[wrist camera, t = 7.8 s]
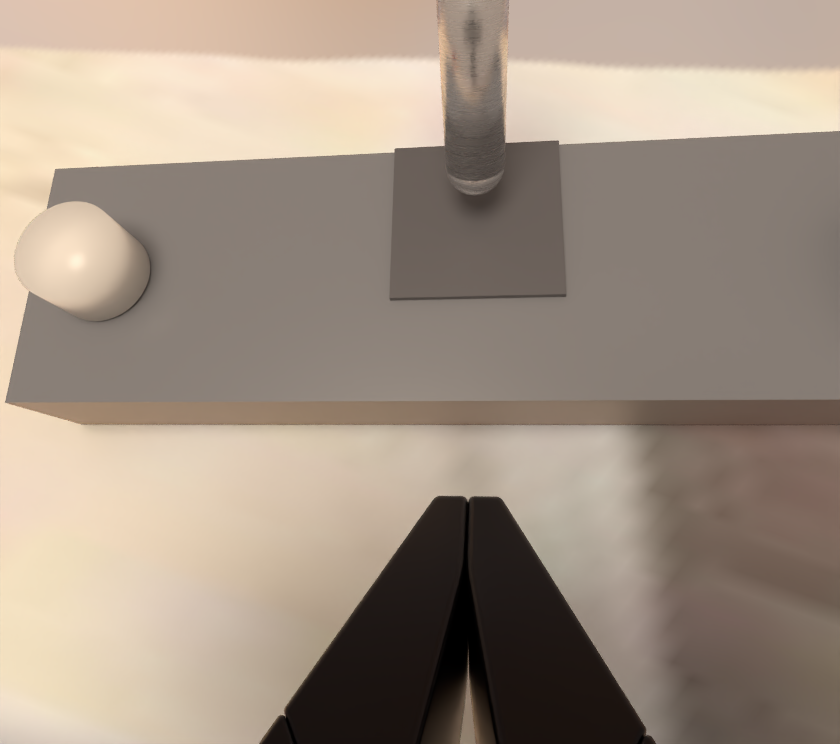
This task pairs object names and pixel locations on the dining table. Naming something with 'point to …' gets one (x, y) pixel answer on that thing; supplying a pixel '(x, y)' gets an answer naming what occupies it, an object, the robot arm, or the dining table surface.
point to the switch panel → (463, 290)
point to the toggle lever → (474, 90)
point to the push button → (82, 261)
